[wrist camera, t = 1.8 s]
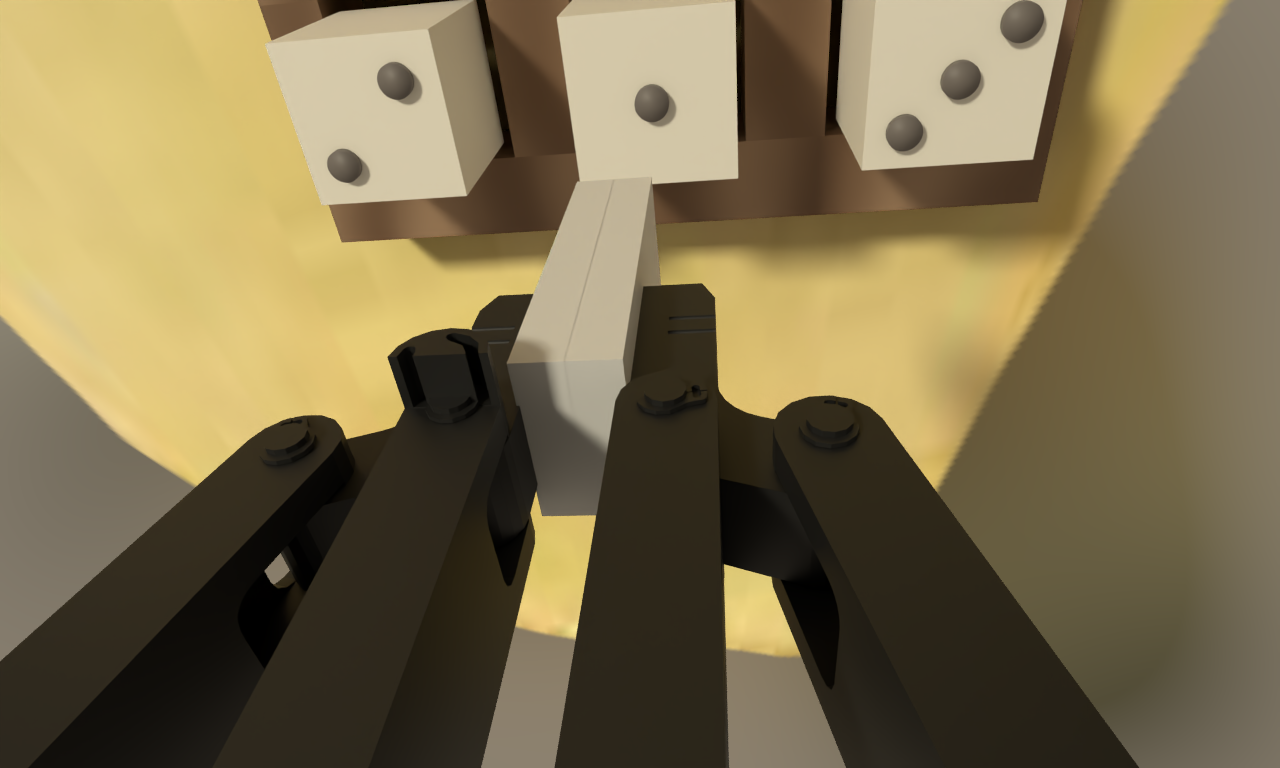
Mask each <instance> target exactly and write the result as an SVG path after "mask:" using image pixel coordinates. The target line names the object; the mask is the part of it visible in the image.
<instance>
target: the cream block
mask: <svg viewBox="0 0 1280 768" xmlns="http://www.w3.org/2000/svg"><path fill="white" fill-rule="evenodd" d="M557 23H558V31H559V38H560V45H561V52H562V59H563V66H564V73H565V80H566V87H567V94H568V101H569V108H570V115H571V122H572V129H573V136H574V143H575V150H576V157H577V164H578V171H579V178H580V181H595V180H610V179H626V178H641V177H652V184H660V183H676V182H691V181H707V180H722V179H738V135H737V74H736V13H735V0H572V1H571V2H570V3H569V4H568V5H567V7H566V8H565V9H564V10H563V11H562V12H561V13H560V14H559V15H558V16H557Z"/></svg>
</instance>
